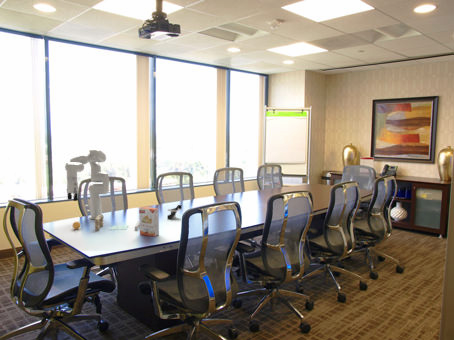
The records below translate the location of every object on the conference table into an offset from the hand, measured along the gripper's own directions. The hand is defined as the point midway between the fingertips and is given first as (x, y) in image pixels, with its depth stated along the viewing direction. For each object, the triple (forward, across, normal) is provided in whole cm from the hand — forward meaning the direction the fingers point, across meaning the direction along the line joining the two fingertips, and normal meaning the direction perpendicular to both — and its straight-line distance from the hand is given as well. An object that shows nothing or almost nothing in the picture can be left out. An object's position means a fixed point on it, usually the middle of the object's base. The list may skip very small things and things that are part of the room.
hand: (72, 200), depth 293 cm
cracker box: (+25, -58, -31) cm, 70 cm away
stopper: (+24, -32, -39) cm, 56 cm away
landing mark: (+24, -21, -28) cm, 43 cm away
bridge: (+24, -10, -17) cm, 31 cm away
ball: (+21, +2, -4) cm, 22 cm away
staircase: (+24, -30, -81) cm, 89 cm away
